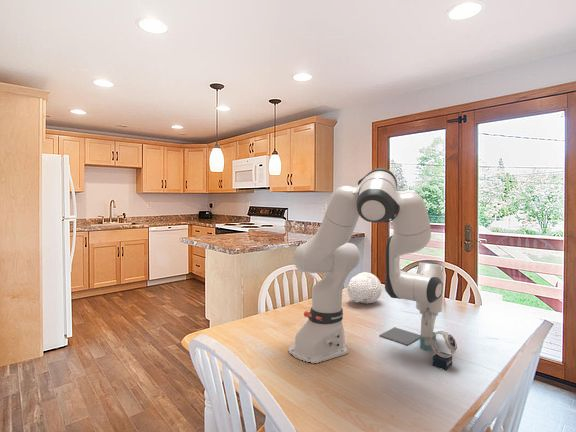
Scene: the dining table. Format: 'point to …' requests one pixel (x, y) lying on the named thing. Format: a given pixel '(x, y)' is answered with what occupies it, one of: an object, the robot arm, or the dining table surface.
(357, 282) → the cauliflower
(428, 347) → the letter cube
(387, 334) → the pad
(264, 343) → the dining table surface
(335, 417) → the dining table surface
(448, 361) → the watch
